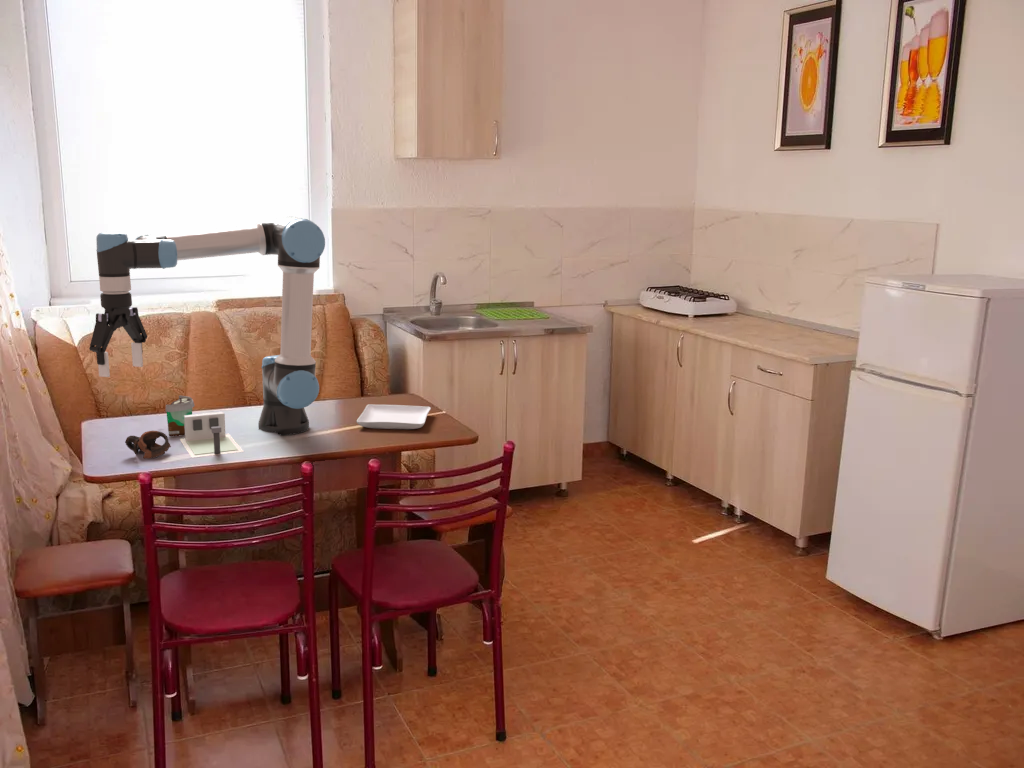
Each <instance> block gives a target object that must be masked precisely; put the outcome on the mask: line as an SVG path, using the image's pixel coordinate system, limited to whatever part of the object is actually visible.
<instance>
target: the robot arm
mask: <svg viewBox="0 0 1024 768" xmlns="http://www.w3.org/2000/svg"><path fill="white" fill-rule="evenodd" d="M325 238H326V237H325V235H324V232H323V231H322V229H321V227H319V225H317V224H316V223H315V222H314V221H312V220H309V219H307V218H302V217H296V216H295V217H294V216H287V217H282V218H276V219H272V220H267V221H266V220H265V221H258V222H257V223H256V224H255V225H250V226H241V227H231V228H230V227H229V228H220V229H218V228H217V229H210V230H209V229H208V230H199V231H197V230H196V231H185V232H176V233H167V234H157V235H148V234H143V235H140V236H137V237H136V238H135V239H129V237H128V235H127V233H126V232H120V231H117V232H116V231H105V232H99V233H98V234H97V235H96V239H95V240H96V249H95V250H96V261H97V268H98V271H97V272H98V280H99V291H100V292H101V293H100V305H101V308H103V309H104V313H99V312H98V313H97V312H96V314H95V324H94V327H93V332H92V336H91V341H90V344H89V351H91V352H94V353H96V356H95V357H96V363H97V366H98V377H103V378H110V377H111V374H110V361H109V360H110V359H109V352H108V351H107V348H108V346H109V344H110V341H111V340H112V337H113V335H114V333H115V332H116V331H117V329H120V328H123V329H124V330H125V332H126V333H127V335H128V336H129V337H130V339H131V340H132V341H133V342H130V345H131V347H130V348H131V358H132V359H131V360H132V361H131V362H132V367H138V368H142V367H143V368H144V360H143V343H146V342H147V339H148V334H147V332H146V329H145V327H144V325H143V322H142V320H141V318H140V316H139V309H138V307H136V306H135V307H134V306H133V300H132V293H131V292H130V291H131V290H132V284H131V273H130V272H131V271H130V270H131V269H133V270H137V269H168V268H169V269H170V268H175V267H176V266H177V264H178V261H184V260H195V259H204V258H215V257H223V256H235V255H244V254H254V253H259V254H260V255H262V256H266V255H267V256H268V255H269V256H271V255H273V256H274V255H277V267H279V269H280V270H281V271H282V288H281V289H282V292H281V297H282V298H281V322H280V323H281V324H280V326H281V327H280V352H279V353H280V354H277V355H268V356H265V357H263V358H262V360H261V374H262V396H263V398H262V400H263V405H262V410H261V413H260V417H259V419H258V430H261V431H262V432H263V431H264V432H267V433H276V434H277V435H278V436H288V435H296V434H301V433H304V432H306V431H308V430H309V429H310V420H309V418H308V415H307V412H306V409H305V408H306V407H308V406H310V405H311V404H313V403H314V401H316V399H317V398H318V396H319V393H320V384H319V380H318V378H317V377H316V363H317V361H316V359H314V357H312V355H311V354H312V352H311V351H312V330H313V329H312V328H313V305H314V303H313V302H314V280H315V279H314V278H315V273H316V272H317V271H318V270H319V269H320V264H321V263H320V262H321V261H320V259H321V256H322V254H323V253H324V251H325V247H326V239H325Z"/></svg>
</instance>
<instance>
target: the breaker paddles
mask: <svg viewBox="0 0 1024 768" xmlns="http://www.w3.org/2000/svg"><path fill="white" fill-rule="evenodd" d="M209 424H210V429H211V427H215V426H219V423H218V418H209ZM193 430H194V431H196V430H202V419H198V420H193Z"/></svg>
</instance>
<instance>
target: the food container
mask: <svg viewBox="0 0 1024 768" xmlns="http://www.w3.org/2000/svg"><path fill="white" fill-rule="evenodd" d="M194 407H195V402H194V400H193V398H192V397H190V396H186V395H178V399H177V400H174V401H172V402H171V404H165V413H166V419H167V420H166V421H167V431H168V437H169V436H174V437H180V436H179V435H182V436H185V425H184V415H193V408H194Z"/></svg>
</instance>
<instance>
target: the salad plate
mask: <svg viewBox="0 0 1024 768" xmlns="http://www.w3.org/2000/svg"><path fill="white" fill-rule="evenodd" d="M431 409H432V407H430V406H424V405H423V406H421V405H407V404H406V405H403V404H374V403H373V404H366V406H365V407H364V409H363V411H362V413H360V415H359V417H358V418H357V420H356V423H357V424H358V425H359V426H360V427H363V428H368V429H379V430H380V429H383V430H384V429H385V430H386V429H388V430H389V429H390V430H416V429H420V428H422V427H423V426H424V425H425V423H426V420H427V417H428V415H429V413H430V411H431Z"/></svg>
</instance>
